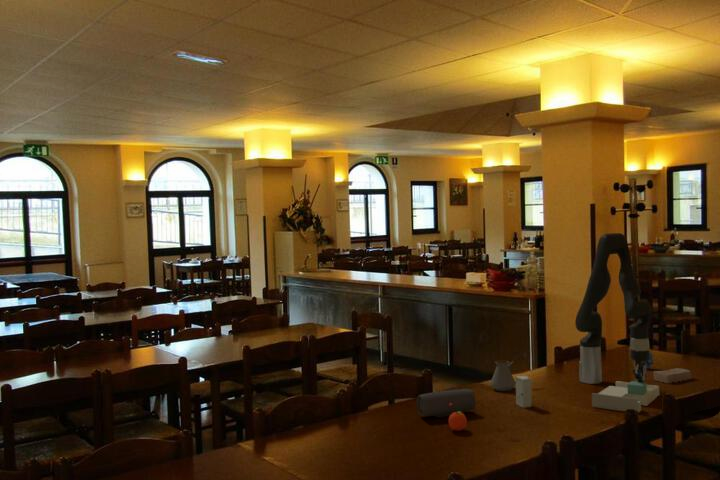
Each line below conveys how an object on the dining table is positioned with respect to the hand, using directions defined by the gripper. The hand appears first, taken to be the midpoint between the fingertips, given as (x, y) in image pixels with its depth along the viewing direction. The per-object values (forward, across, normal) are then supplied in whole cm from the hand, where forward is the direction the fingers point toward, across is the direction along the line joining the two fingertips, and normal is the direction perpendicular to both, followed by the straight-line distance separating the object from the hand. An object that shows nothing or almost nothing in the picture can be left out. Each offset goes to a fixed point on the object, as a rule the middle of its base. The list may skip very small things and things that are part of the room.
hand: (641, 388), depth 279 cm
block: (0, +6, 0) cm, 6 cm away
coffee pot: (+5, +8, -56) cm, 57 cm away
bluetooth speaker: (+5, +61, -59) cm, 85 cm away
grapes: (+5, -57, -16) cm, 59 cm away
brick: (+5, -40, +3) cm, 41 cm away
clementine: (+5, +75, -45) cm, 88 cm away
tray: (+4, +5, -4) cm, 8 cm away
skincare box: (+5, +33, -38) cm, 51 cm away
